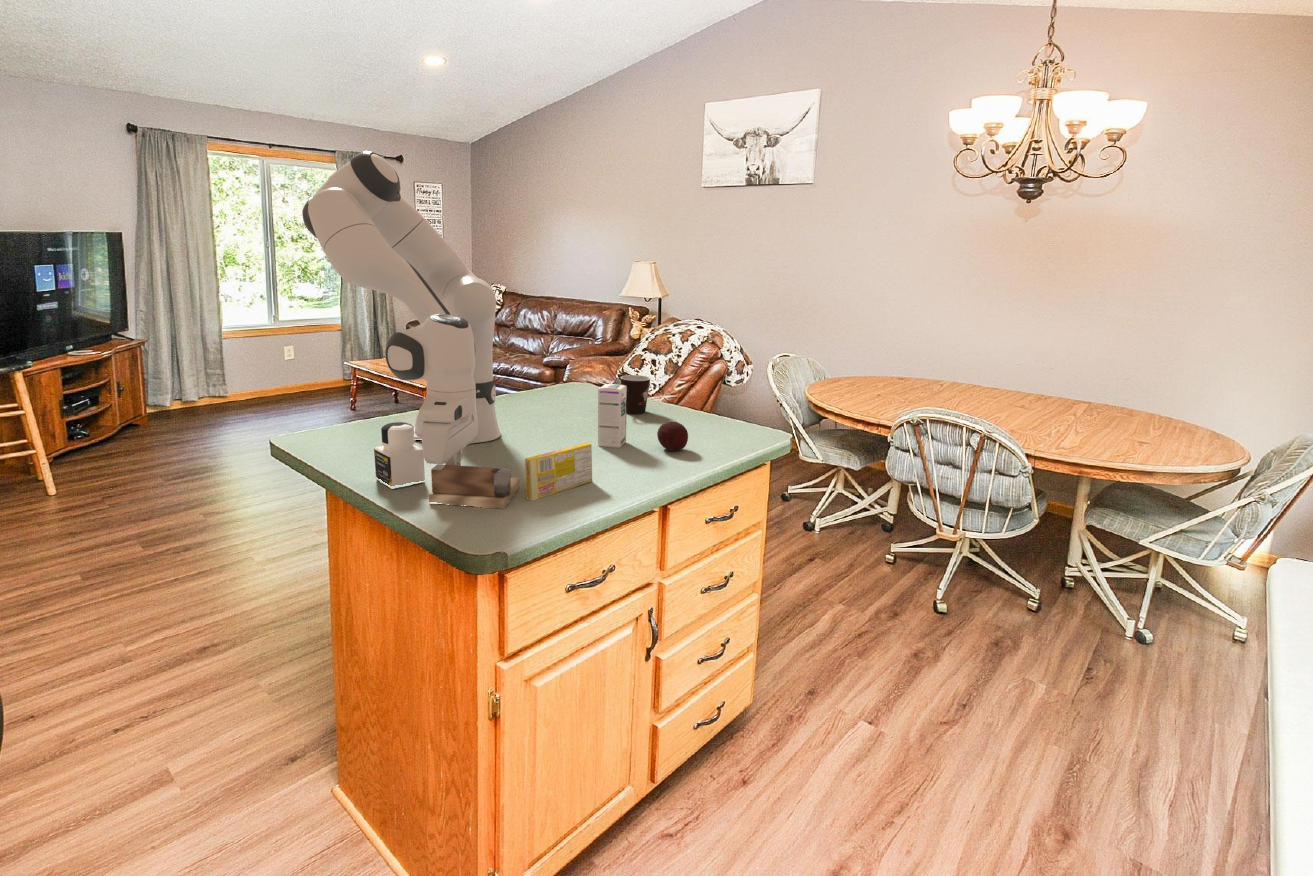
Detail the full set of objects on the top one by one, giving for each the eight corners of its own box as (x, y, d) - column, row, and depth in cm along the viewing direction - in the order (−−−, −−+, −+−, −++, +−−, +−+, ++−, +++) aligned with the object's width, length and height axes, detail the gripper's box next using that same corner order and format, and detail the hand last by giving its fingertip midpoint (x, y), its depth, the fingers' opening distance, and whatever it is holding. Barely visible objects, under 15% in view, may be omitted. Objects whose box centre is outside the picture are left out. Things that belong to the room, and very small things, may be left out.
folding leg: (513, 491, 138) (512, 468, 137) (507, 497, 134) (507, 474, 133) (438, 486, 139) (437, 463, 138) (431, 492, 135) (430, 469, 134)
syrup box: (620, 448, 176) (622, 389, 172) (596, 446, 177) (597, 387, 173) (626, 442, 182) (627, 384, 178) (603, 440, 183) (604, 382, 179)
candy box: (585, 480, 153) (586, 441, 151) (593, 482, 152) (593, 444, 149) (524, 498, 141) (524, 457, 139) (531, 501, 140) (531, 459, 138)
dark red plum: (673, 456, 171) (675, 427, 170) (650, 449, 177) (651, 420, 175) (694, 450, 177) (696, 422, 175) (670, 443, 182) (672, 416, 180)
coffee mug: (636, 407, 219) (637, 374, 216) (655, 413, 212) (656, 379, 210) (605, 411, 212) (605, 377, 209) (623, 417, 205) (624, 382, 203)
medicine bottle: (375, 481, 147) (371, 423, 144) (409, 474, 152) (406, 418, 149) (391, 490, 142) (387, 430, 139) (425, 483, 147) (423, 425, 144)
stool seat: (429, 504, 136) (428, 494, 135) (451, 483, 147) (450, 473, 147) (503, 509, 135) (503, 498, 134) (519, 487, 146) (519, 478, 146)
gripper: (454, 390, 148) (456, 456, 151) (414, 413, 128) (417, 488, 132) (485, 392, 147) (486, 458, 151) (449, 416, 127) (451, 491, 131)
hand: (453, 472), depth 141 cm, fingers closed
